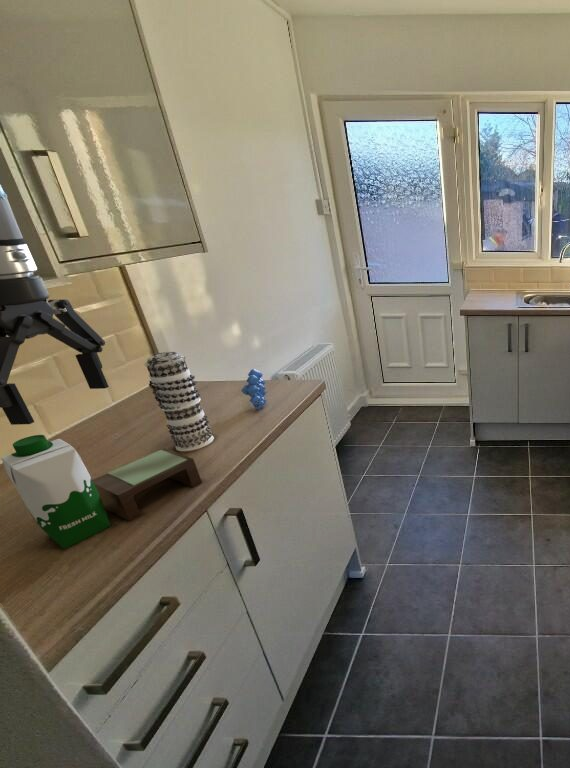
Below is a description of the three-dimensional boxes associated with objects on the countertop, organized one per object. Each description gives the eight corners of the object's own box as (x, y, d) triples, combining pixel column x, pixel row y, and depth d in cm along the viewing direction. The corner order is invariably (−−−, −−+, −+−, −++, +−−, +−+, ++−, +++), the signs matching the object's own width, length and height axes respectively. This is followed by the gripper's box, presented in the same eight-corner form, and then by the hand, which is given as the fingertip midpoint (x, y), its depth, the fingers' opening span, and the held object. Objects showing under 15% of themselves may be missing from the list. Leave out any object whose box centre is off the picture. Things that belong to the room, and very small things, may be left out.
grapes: (250, 400, 135) (240, 366, 131) (273, 397, 137) (264, 363, 133) (242, 416, 125) (230, 379, 120) (267, 412, 127) (257, 376, 122)
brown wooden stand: (101, 506, 88) (88, 480, 85) (173, 471, 99) (164, 447, 97) (129, 521, 83) (116, 494, 81) (202, 482, 95) (192, 457, 92)
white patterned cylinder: (172, 456, 105) (135, 364, 95) (175, 440, 112) (141, 353, 102) (215, 445, 110) (184, 356, 100) (215, 431, 117) (186, 346, 107)
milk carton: (100, 510, 86) (57, 426, 78) (119, 525, 82) (76, 438, 74) (41, 537, 79) (-12, 448, 71) (59, 555, 75) (4, 462, 67)
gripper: (-75, 291, 50) (9, 441, 59) (101, 264, 73) (144, 375, 82) (-141, 292, 50) (-47, 443, 58) (57, 265, 73) (104, 376, 81)
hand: (64, 404), depth 70 cm, fingers open, 13 cm apart
